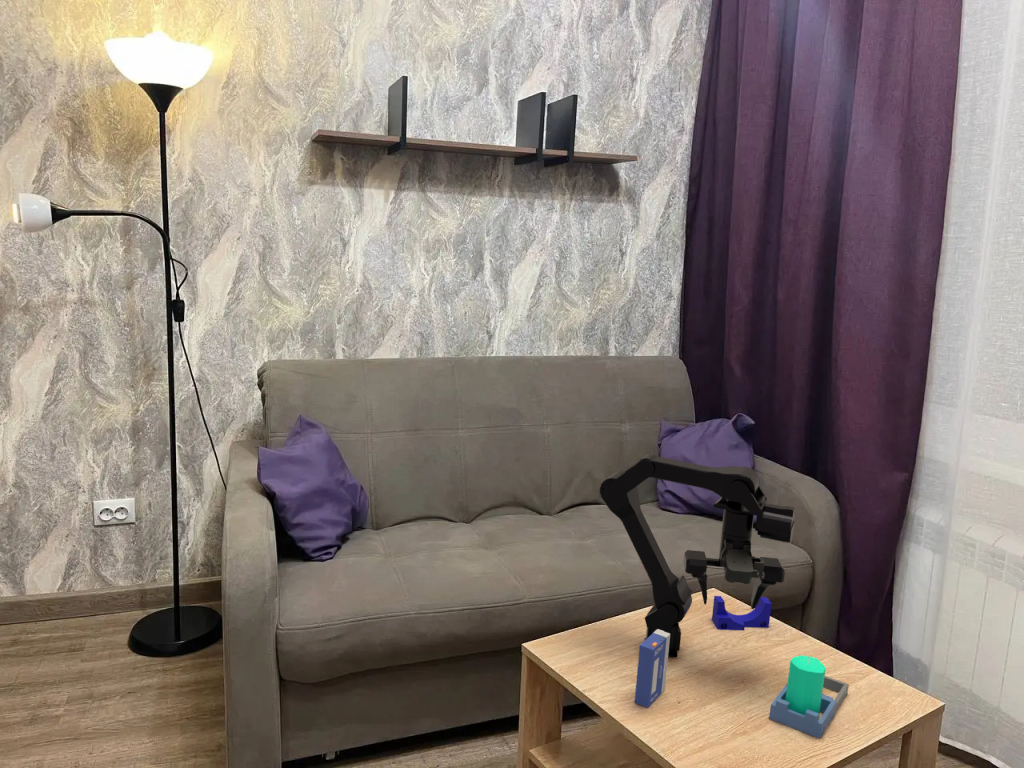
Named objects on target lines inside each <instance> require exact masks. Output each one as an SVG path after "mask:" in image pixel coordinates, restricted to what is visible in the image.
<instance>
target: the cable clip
mask: <svg viewBox="0 0 1024 768" xmlns="http://www.w3.org/2000/svg"><path fill="white" fill-rule="evenodd" d="M725 603H726V602H725V600H724V599H723V596H722V595H714V597H713V604H712V605H713V606H712V614H711V621H712V623H713V625H714V626H715V627H716V630H717V631H718V630H719V631H721V630H722V631H745V629H746V628H759V629H761V628H762V629H764V628H765V629H769V628H770V619H771V610H772V602H771V600H770V599H769V598H768V597H767V596H766V597H765V596H761V597H760V599H759V601H758V602H757V604H756V606H755V608H754V609H752V610H751V611H750V612H748V613H745V614H733V613H731V612H729V611H728V610H726V606H725V605H726V604H725Z"/></svg>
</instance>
